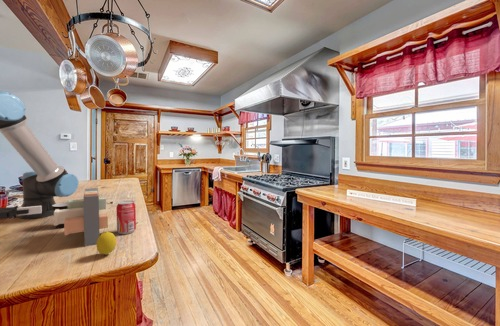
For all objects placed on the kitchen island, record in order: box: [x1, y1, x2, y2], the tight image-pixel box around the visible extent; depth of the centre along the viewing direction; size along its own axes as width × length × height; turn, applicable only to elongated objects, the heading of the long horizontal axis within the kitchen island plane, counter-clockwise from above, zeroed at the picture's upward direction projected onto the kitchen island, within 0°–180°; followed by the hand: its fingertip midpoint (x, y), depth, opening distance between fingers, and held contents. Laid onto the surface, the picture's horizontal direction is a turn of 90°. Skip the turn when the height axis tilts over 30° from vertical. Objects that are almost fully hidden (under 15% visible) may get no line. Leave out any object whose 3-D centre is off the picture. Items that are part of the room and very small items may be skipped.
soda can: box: [115, 200, 137, 235], centre depth 96 cm, size 7×7×13 cm
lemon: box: [96, 230, 117, 256], centre depth 75 cm, size 6×6×8 cm
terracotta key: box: [63, 213, 109, 236], centre depth 84 cm, size 5×13×5 cm, turn 125°
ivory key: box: [53, 207, 84, 227], centre depth 88 cm, size 5×13×5 cm, turn 125°
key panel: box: [83, 187, 100, 247], centre depth 91 cm, size 20×4×19 cm, turn 35°
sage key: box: [67, 196, 107, 211], centre depth 95 cm, size 5×13×5 cm, turn 125°
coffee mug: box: [52, 201, 68, 229], centre depth 104 cm, size 12×9×10 cm
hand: (41, 209), depth 87 cm, fingers closed
